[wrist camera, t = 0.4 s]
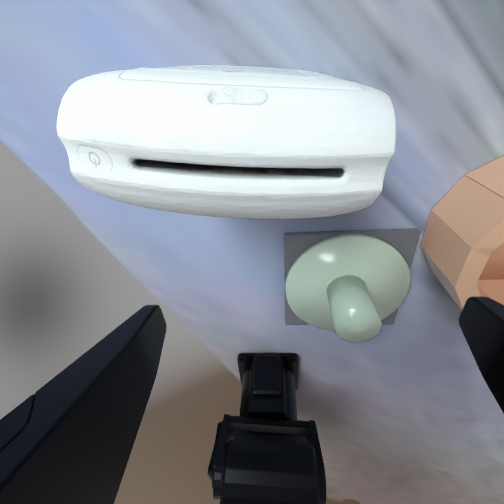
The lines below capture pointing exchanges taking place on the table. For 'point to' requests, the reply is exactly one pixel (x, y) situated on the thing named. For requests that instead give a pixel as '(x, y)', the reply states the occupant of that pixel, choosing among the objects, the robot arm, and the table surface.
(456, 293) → the bowl
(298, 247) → the mat
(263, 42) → the table surface
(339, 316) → the lid
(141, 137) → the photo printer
